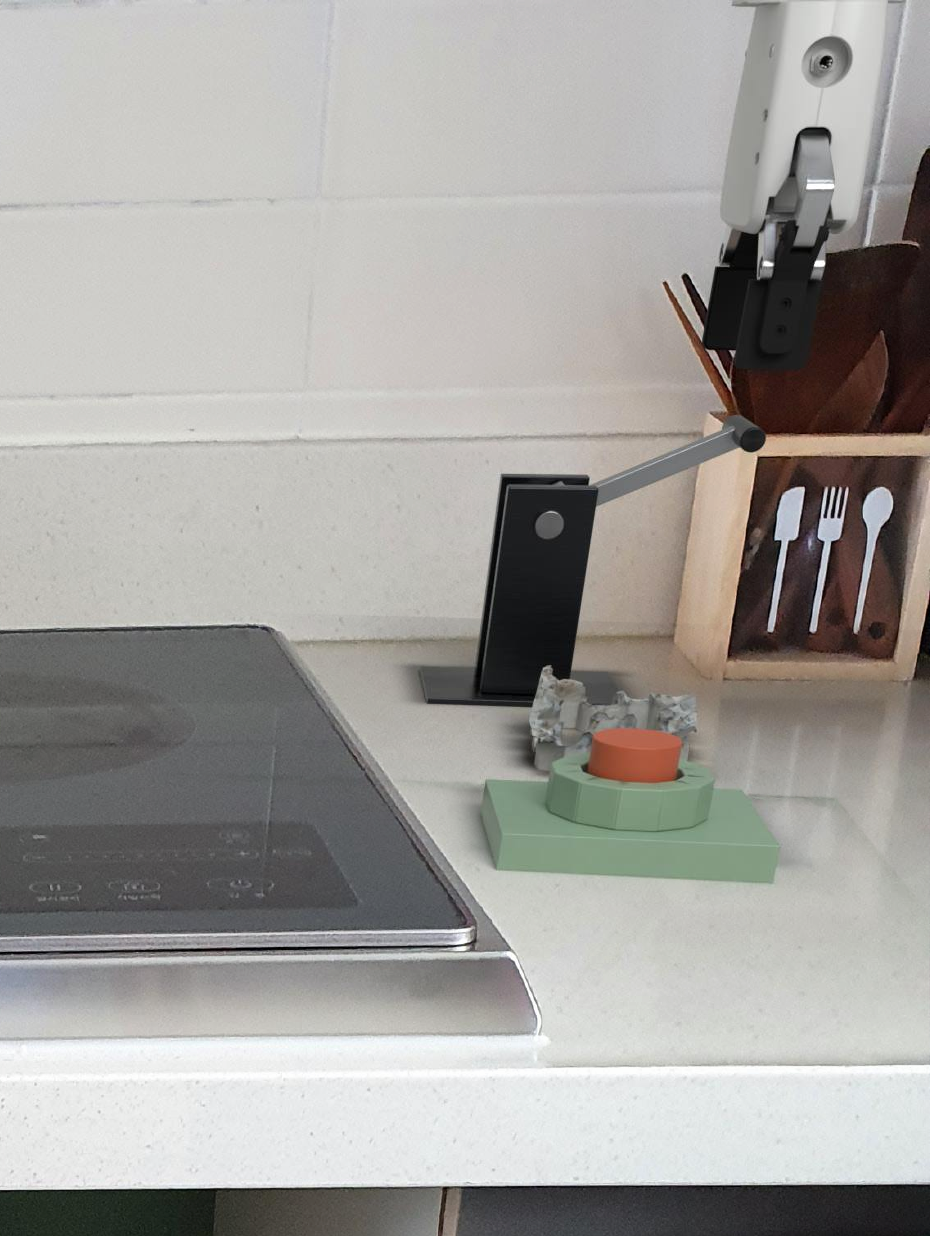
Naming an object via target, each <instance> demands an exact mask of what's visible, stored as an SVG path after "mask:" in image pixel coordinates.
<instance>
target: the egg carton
mask: <svg viewBox="0 0 930 1236" xmlns="http://www.w3.org/2000/svg"><path fill="white" fill-rule="evenodd" d="M552 672H553V669H552V668H551V665H549V666H548V665H547V666H545V667H544V668H543V670H542V673H541V676H540V680H539V684H538V689H537V692H536V696H535V699H534V702H533V707H531V712H530V714H529V717H528V721H529V726H530V730H529V736H530V737H532V741H531V749H532V752H533V753H535V756H534V761H533V762H534V763H533V766H534V767H535V768H536V769H537V770H538V771H539V770H540V771H546V772H550V767H551V763H552V762H554V761H556V760H558V759H561V758H563V757H565V756H567V755H571V754H581V753H590V751H591V744H592V738H593V735H594V734H595V733H596V732H599V731H602V730H607V729H618V728H634V729H647V730H654V731H660V732H665V733H669V734H672V735H674V736H677V737H679V738H680V739H681V740H682V747H681V753H680V759H683V760H686V761H688V758H689V754H690V753H689V752H690V745H691V744H690V742H689V739H688V738H687V735H688V734H690V733H692V732H694V733H697V731H698V729H697V727H698V723H697V721H698V714H697V697H696V694H695V693H692V692H691V693H686V694H682V695H676V696H672V695H671V696H670V695H667V694H662V693H658V694H656V693H655V692H654V691H653V692H650V694H649V696H648V697H647V698H641V699H639V698H631V697H629V696H628V694H627V692H626V691H625V690H619V691H618V692H617V693H616V694H615V695H614V696H613V701H612V704H611V705H608V706H604V705H598V706H593V705H591V704H589V703H588V702H586V700H587V696H586V690H585V686H584V684H583V683H581V682H578V681H576V680H570V679H562V680H560V681H559V680H558V679H556V678H555V677H554V676H552ZM563 728H565V729H575V730H576V731H577V730H578V731H579V732H582V733H581V736H580V738H579V739H578V741H577V742H575V743H573V744H569V745H567V744H565V745H564V744H563V742H562V734H563Z"/></svg>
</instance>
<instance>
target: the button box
mask: <svg viewBox="0 0 930 1236" xmlns="http://www.w3.org/2000/svg"><path fill="white" fill-rule="evenodd" d="M589 757H590V753H581V754H571V755H567V756H565V757H563V758H561V759H558V760H556V761H554V762H552V763H551V767H550V771H549V773H548V774H549V775H548V781H539V780H536V781H535V780H517V779H516V780H514V779H491V778H490V779H489V778H487V779H485V780H484V787H483V795H482V802H481V807H480V808H481V809H480V816H481V820H482V824H483V827H484V831H485V834H486V838H487V841H488V845H489V849H490V852H491V856H492V859H493V863H494V867H495V870H496V871H504V872H505V871H508V872H524V873H525V872H527V873H546V874H547V873H548V874H549V873H550V874H567V875H568V874H569V875H589V876H610V877H611V876H612V877H629V878H632V877H633V878H653V879H673V880H696V881H715V882H733V883H734V882H735V883H753V884H755V883H756V884H774V881H775V875H776V870H777V864H778V859H779V854H780V849H781V845H780V844H779V842H778V841H777V839H776V838H775V837H774V835H773V834H772V832H771V830H770V829H769V827H768V826H767V824H766V823H765V822H764V820H763V818H762V817H761V815H760V814H759V813H758V811H757V810H756V808H755V806H754V805H753V803H752V802H751V801H750V799H749V798H748V797H747V795H746V793H745V792H744V790H743V789H741V788H737V789H736V788H714V787H715V784H716V783H715V782H716V778H715V776H714V775H713V773H712V772H711V770H710V769H709V768H708V767H706V766H703V765H701V764H697V763H695V762H692V761H689V760H687V761H686V760H683V759H679V764H678V770H677V776H676V781H670V782H660V783H638V782H621V781H615V780H609V779H603V778H598V777H595V776H593V775H590V774H587V770H588V763H589Z"/></svg>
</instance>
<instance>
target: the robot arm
mask: <svg viewBox="0 0 930 1236" xmlns="http://www.w3.org/2000/svg"><path fill="white" fill-rule="evenodd" d="M906 2H907V0H732V2H731V7H735V8H736V7H737V8H755V9H754V13H753V18H752V23H751V29H750V33H749V38H748V44H747V47H746V50H745V53H744V63H743V68H742V71H741V73H742V74H741V77H740V83H739V87H738V93H737V98H736V103H735V108H734V113H733V120H732V126H731V129H730V130H731V131H730V137H729V144H728V148H727V155H726V158H725V159H726V160H725V167H724V174H723V178H722V179H723V181H722V187H721V193H720V194H721V195H720V204H719V205H720V206H719V215H720V219H721V220H722V221H723V222H724V224H726V225H727V226H726V228H725V232H724V236H723V238H722V241H721V244H720V248H719V253H718V263H717V264H718V266H714V270H713V277H712V282H711V287H710V294H709V299H708V304H707V310H706V311H707V312H706V316H705V321H704V328H703V333H702V338H701V345H702V347H703V348H704V349H706V350H707V351H728V352H729V351H735V353H734V358H733V364H734V366H735V367H736V368H737V369H739V370H742V371H746V370H747V371H801V370H802V369H804V368H805V367H806V365H807V363H808V359H809V353H810V348H811V343H812V339H813V334H814V328H815V323H816V318H817V313H818V309H819V303H820V299H821V293H822V288H823V283H824V280H823V279H822V278H823V275H824V271H825V268H826V260H827V259H826V258H827V241H828V239H829V236H830V234H831V235H843V234H845V233H846V232H848V231H849V230H850V229H851V228H852V227H853V226H854V225H855V224H856V223H857V219H858V217H859V212H860V207H861V201H862V195H863V189H864V183H865V178H866V177H865V176H866V170H867V164H868V158H869V153H870V147H871V146H870V145H871V141H872V133H873V127H874V121H875V115H876V110H877V109H876V108H877V102H878V95H879V90H880V82H881V76H882V69H883V68H882V67H883V60H884V53H885V44H886V33H887V23H888V8H889V7H888V5H889V4H903V3H906Z"/></svg>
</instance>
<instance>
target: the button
mask: <svg viewBox="0 0 930 1236" xmlns="http://www.w3.org/2000/svg"><path fill="white" fill-rule="evenodd" d="M681 747H682V740H681V739H680V738H679V737H677V736H674V735H672V734H669V733H665V732H660V731H654V730H647V729H634V728H618V729H607V730H602V731H599V732H596V733H595V734H594V735H593V738H592V744H591V751H590V757H589V763H588V770H587V774H590V775H593V776H595V777H598V778H603V779H609V780H615V781H621V782H638V783H660V782H670V781H676V776H677V770H678V764H679V759H680V753H681Z"/></svg>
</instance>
